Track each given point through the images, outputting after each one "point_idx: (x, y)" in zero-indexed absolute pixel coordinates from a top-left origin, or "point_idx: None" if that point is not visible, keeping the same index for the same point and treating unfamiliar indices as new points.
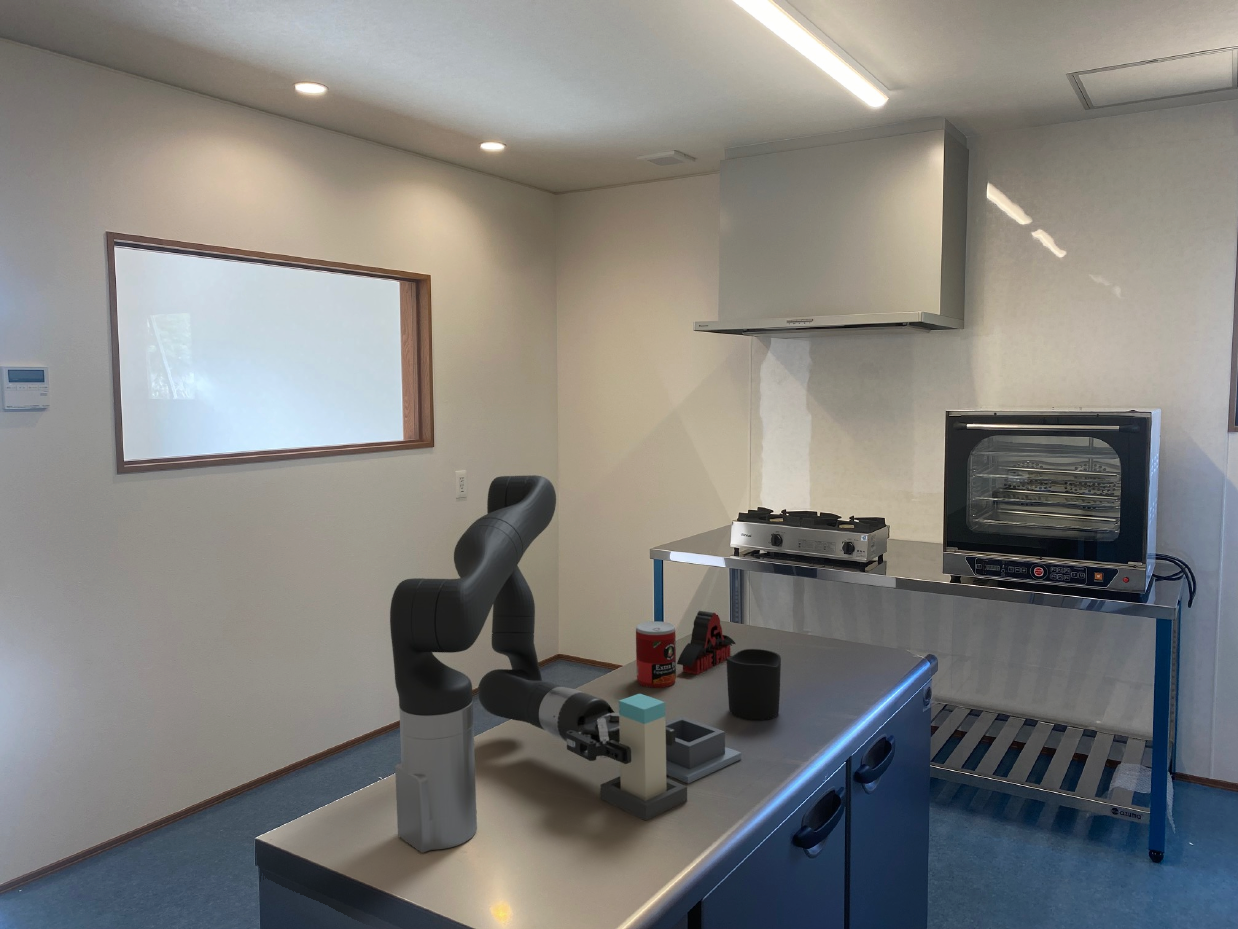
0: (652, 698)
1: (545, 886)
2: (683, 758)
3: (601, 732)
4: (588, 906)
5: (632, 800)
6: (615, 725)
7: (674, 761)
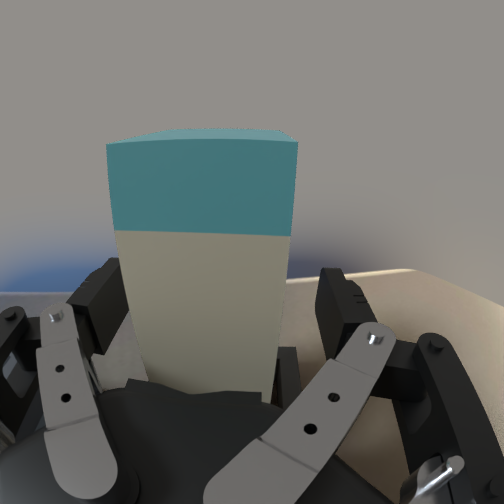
0: (154, 133)
1: (484, 327)
2: (37, 391)
3: (364, 374)
4: (448, 291)
5: (299, 380)
6: (184, 428)
7: (33, 425)
